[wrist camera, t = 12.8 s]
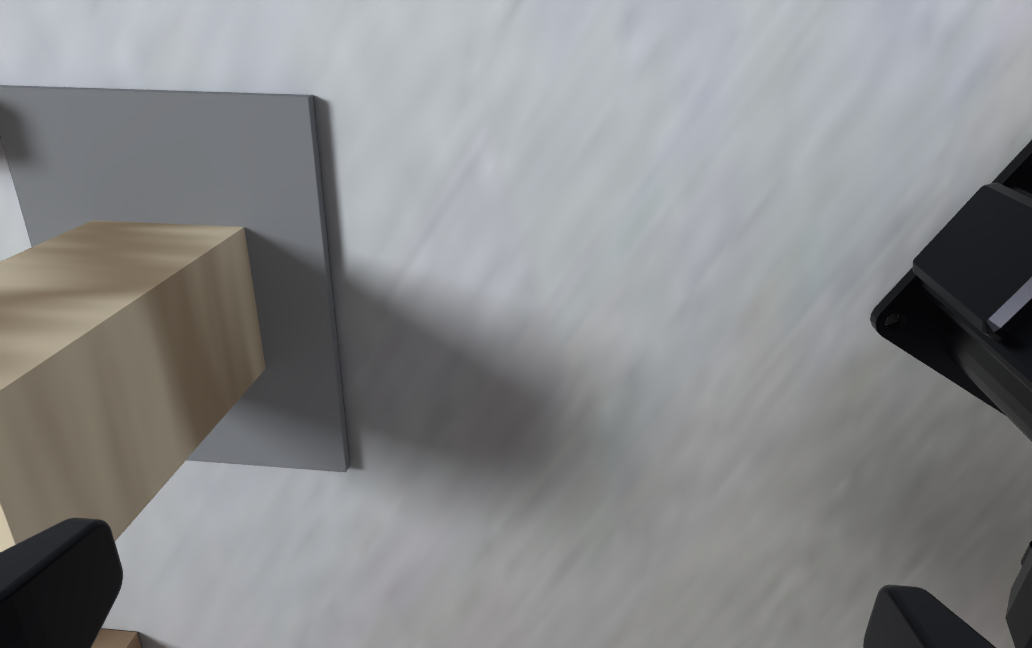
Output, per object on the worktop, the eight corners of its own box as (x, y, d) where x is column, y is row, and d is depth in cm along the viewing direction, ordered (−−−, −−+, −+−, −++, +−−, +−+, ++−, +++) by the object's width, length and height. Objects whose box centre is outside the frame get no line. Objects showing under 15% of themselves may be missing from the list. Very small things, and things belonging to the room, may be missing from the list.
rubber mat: (312, 95, 19) (307, 97, 19) (349, 465, 24) (345, 472, 24) (-3, 85, 20) (-14, 87, 19) (97, 446, 25) (90, 453, 24)
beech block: (243, 226, 20) (-33, 412, 11) (265, 368, 22) (43, 623, 13) (91, 220, 21) (-294, 394, 12) (126, 360, 23) (-182, 601, 14)
